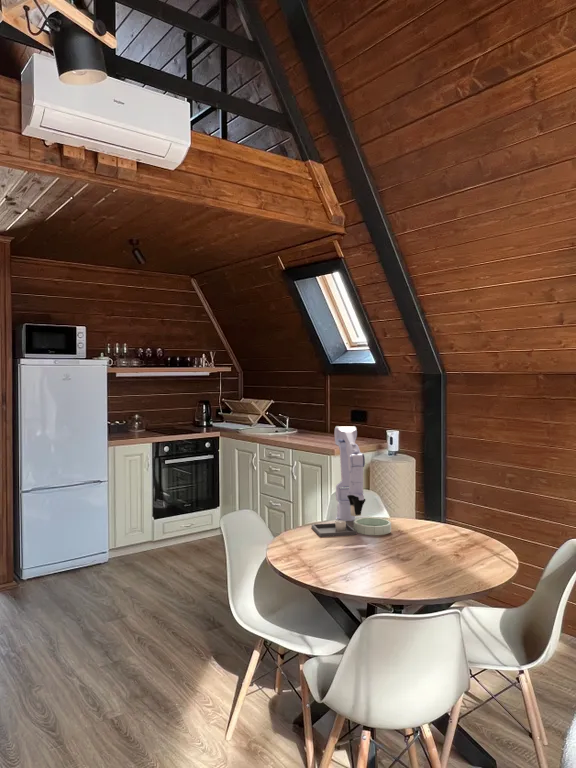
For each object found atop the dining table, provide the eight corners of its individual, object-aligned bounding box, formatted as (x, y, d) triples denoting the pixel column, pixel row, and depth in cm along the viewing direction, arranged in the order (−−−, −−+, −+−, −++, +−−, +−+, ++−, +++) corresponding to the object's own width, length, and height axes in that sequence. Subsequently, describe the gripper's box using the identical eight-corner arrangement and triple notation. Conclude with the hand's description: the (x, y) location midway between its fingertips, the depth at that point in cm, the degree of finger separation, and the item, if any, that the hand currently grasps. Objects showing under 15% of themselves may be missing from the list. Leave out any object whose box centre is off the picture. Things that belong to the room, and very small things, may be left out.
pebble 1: (334, 529, 249) (334, 520, 249) (344, 529, 250) (344, 519, 250) (337, 532, 245) (337, 523, 244) (347, 531, 245) (347, 522, 245)
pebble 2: (349, 513, 249) (349, 504, 249) (359, 513, 250) (359, 504, 250) (352, 516, 245) (352, 507, 245) (362, 515, 246) (362, 506, 246)
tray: (311, 529, 252) (311, 524, 252) (345, 528, 255) (345, 522, 255) (320, 539, 238) (320, 533, 238) (356, 537, 241) (356, 531, 241)
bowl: (349, 528, 255) (349, 518, 255) (382, 526, 258) (382, 516, 258) (361, 538, 239) (361, 527, 239) (396, 536, 243) (396, 525, 243)
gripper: (342, 479, 254) (342, 509, 254) (352, 485, 239) (352, 517, 240) (357, 478, 255) (357, 509, 255) (368, 484, 241) (368, 517, 241)
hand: (356, 513), depth 248 cm, fingers closed on pebble 2, 4 cm apart
